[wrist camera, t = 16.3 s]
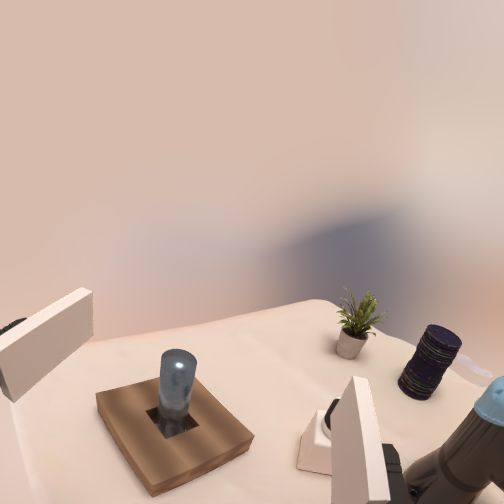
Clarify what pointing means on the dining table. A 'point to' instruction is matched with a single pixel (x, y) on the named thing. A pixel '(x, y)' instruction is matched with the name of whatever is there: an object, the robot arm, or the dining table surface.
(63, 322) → the robot arm
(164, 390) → the pin
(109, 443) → the dining table surface
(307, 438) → the medicine bottle
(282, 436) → the dining table surface
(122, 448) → the socket block
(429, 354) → the storage jar
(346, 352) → the house plant
